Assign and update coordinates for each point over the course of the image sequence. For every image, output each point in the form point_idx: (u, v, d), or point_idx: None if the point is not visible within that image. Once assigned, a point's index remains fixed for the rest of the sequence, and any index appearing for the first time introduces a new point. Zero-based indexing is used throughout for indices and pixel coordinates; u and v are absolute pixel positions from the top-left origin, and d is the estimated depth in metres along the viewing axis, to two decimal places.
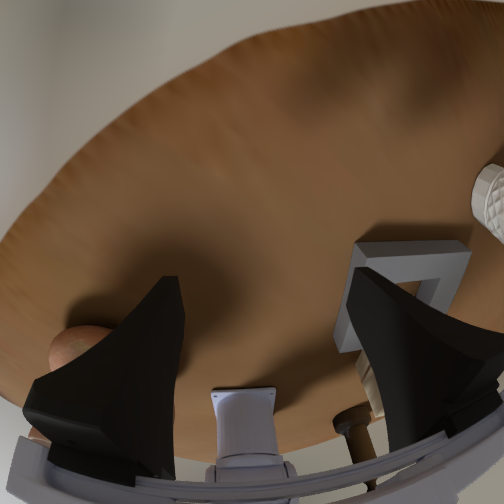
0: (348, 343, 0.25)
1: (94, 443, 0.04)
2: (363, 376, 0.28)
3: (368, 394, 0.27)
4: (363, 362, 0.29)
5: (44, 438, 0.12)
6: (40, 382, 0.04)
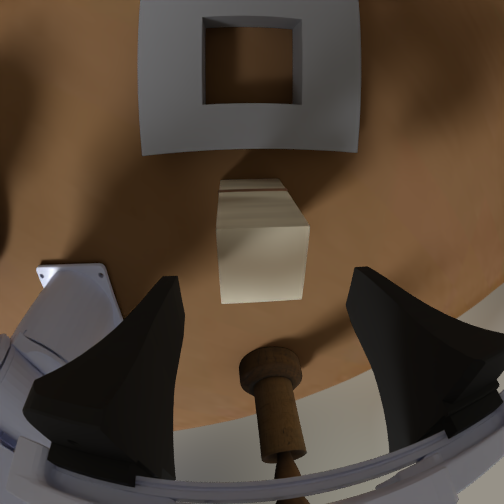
0: (150, 132, 0.14)
1: (94, 443, 0.04)
2: None
3: None
4: None
5: None
6: (41, 382, 0.04)
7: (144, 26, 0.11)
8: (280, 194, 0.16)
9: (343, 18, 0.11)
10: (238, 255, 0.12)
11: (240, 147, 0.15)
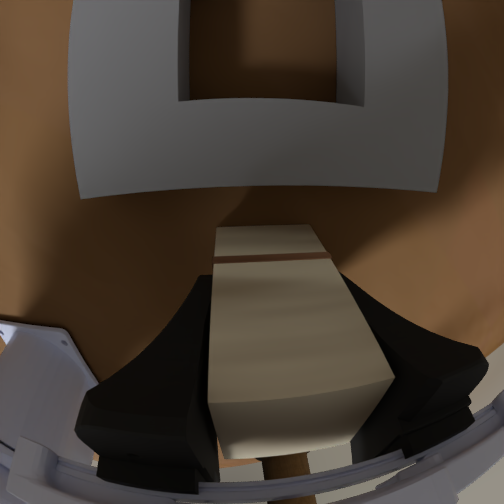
0: (89, 158, 0.07)
1: (164, 454, 0.04)
2: None
3: None
4: None
5: None
6: (95, 393, 0.04)
7: None
8: (322, 269, 0.09)
9: None
10: (253, 426, 0.05)
11: (251, 182, 0.08)
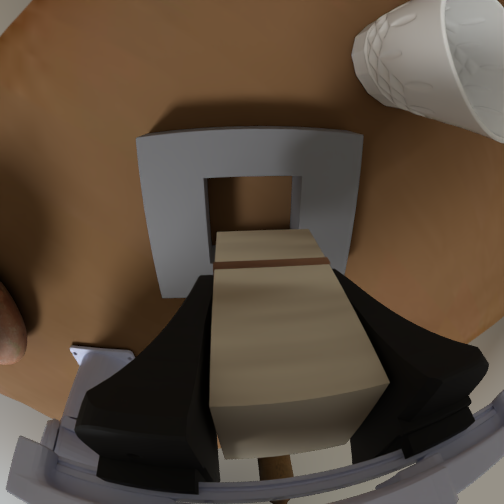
0: (167, 282, 0.18)
1: (164, 454, 0.04)
2: None
3: None
4: None
5: None
6: (95, 393, 0.04)
7: (146, 184, 0.15)
8: (320, 275, 0.09)
9: (344, 167, 0.15)
10: (253, 428, 0.06)
11: None
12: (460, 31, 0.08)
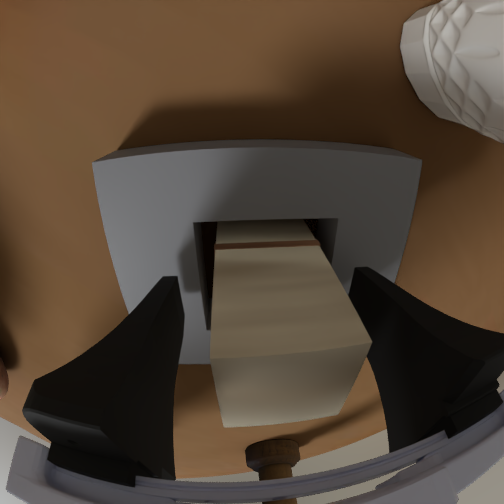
0: None
1: (94, 443, 0.04)
2: None
3: None
4: None
5: None
6: (40, 381, 0.04)
7: (112, 230, 0.10)
8: (311, 254, 0.10)
9: (394, 205, 0.10)
10: (249, 386, 0.07)
11: None
12: None
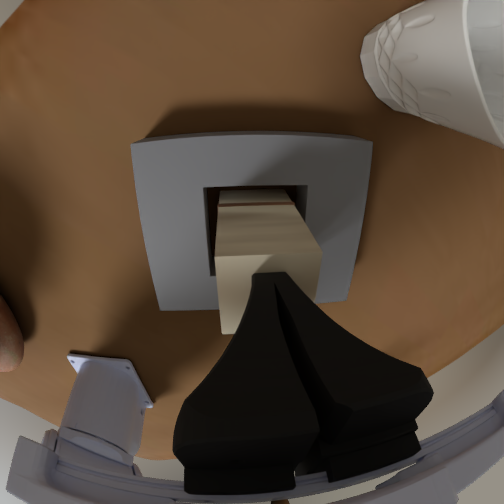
0: (165, 295, 0.17)
1: (277, 453, 0.04)
2: None
3: None
4: None
5: None
6: (197, 402, 0.04)
7: (142, 194, 0.14)
8: (287, 209, 0.14)
9: (352, 176, 0.14)
10: (240, 285, 0.11)
11: None
12: (474, 34, 0.07)
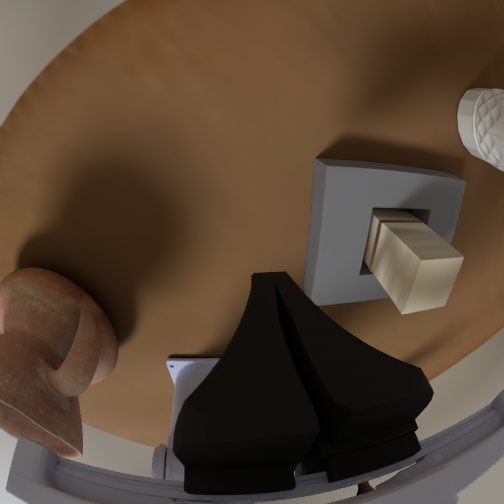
0: (320, 292, 0.21)
1: (277, 453, 0.04)
2: (371, 257, 0.20)
3: (383, 281, 0.18)
4: (368, 234, 0.20)
5: None
6: (197, 402, 0.04)
7: (328, 208, 0.17)
8: (423, 226, 0.18)
9: (453, 204, 0.18)
10: (426, 278, 0.14)
11: (374, 299, 0.22)
12: None
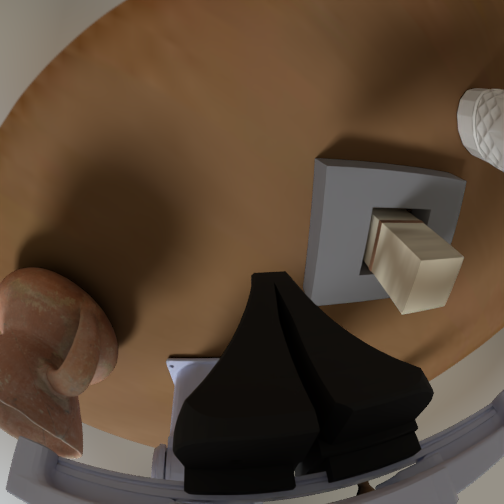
0: (320, 292, 0.21)
1: (277, 453, 0.04)
2: (371, 257, 0.20)
3: (383, 281, 0.18)
4: (368, 234, 0.20)
5: None
6: (197, 402, 0.04)
7: (328, 208, 0.17)
8: (423, 226, 0.18)
9: (453, 204, 0.18)
10: (425, 278, 0.14)
11: (374, 299, 0.22)
12: None
